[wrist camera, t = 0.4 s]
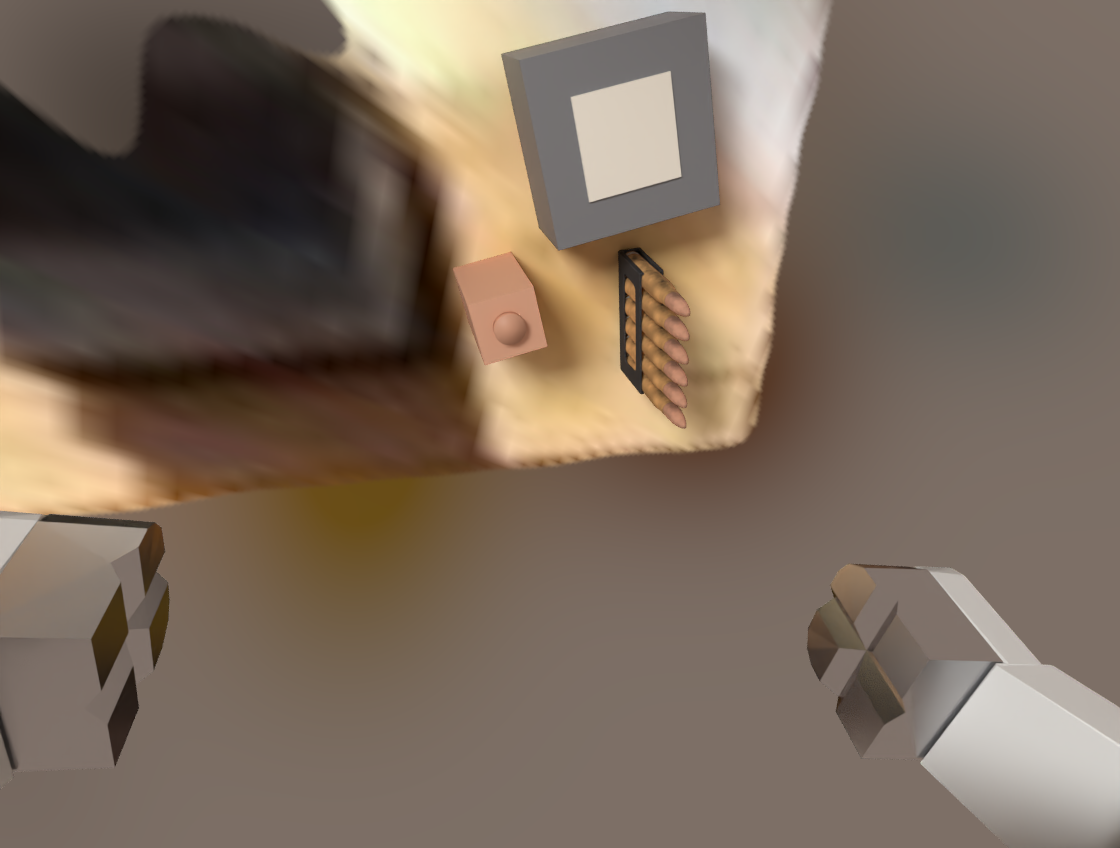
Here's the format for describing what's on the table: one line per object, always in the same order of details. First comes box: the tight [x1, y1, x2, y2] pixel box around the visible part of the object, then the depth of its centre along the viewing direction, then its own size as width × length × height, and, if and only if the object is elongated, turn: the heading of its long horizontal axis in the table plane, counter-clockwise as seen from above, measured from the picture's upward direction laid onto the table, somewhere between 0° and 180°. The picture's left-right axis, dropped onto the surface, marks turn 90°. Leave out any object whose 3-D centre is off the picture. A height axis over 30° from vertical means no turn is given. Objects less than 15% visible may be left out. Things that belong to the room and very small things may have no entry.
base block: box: [501, 12, 720, 250], centre depth 49 cm, size 12×12×6 cm
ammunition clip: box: [618, 248, 690, 428], centre depth 55 cm, size 11×2×12 cm, turn 4°
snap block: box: [453, 252, 548, 365], centre depth 52 cm, size 5×5×9 cm
